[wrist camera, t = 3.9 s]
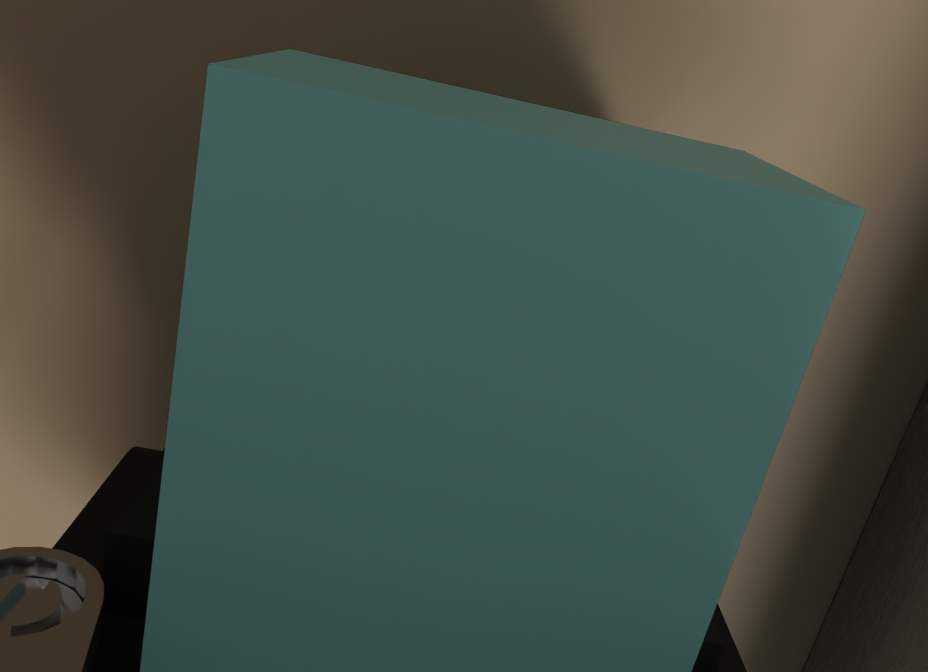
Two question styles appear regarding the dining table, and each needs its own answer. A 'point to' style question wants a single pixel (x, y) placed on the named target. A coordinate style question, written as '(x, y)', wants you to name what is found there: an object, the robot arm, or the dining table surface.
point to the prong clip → (469, 378)
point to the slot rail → (886, 575)
